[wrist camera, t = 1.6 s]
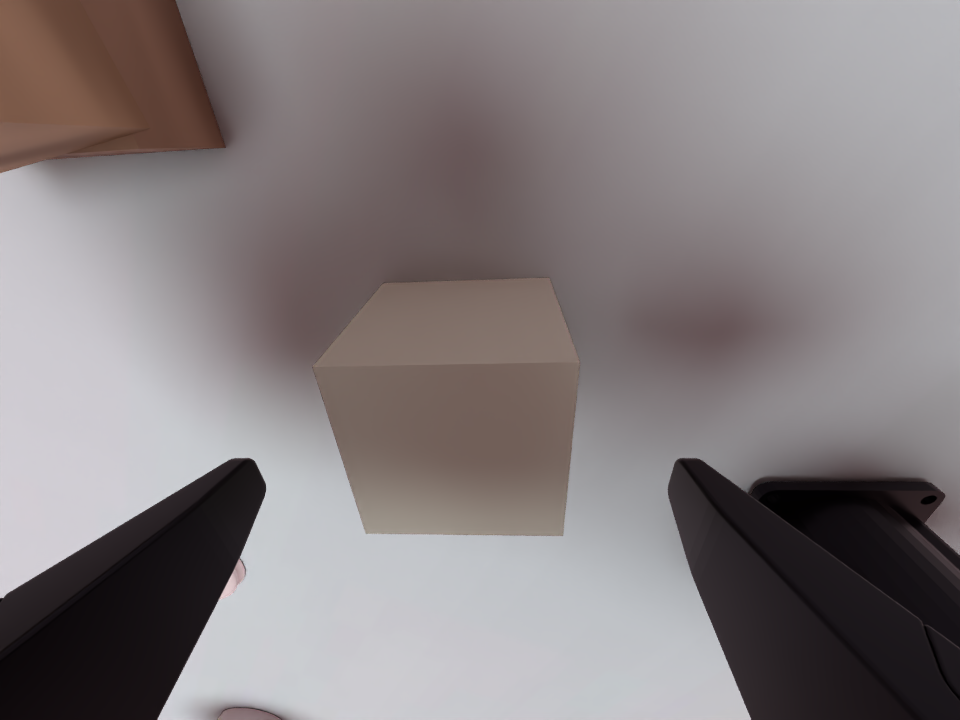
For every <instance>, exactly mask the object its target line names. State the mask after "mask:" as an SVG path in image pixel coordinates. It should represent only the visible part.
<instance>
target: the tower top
mask: <svg viewBox="0 0 960 720" xmlns="http://www.w3.org/2000/svg"><path fill="white" fill-rule="evenodd" d="M147 129H151V128H150V126H149V124H148V123H147V121H146V119H145V117H144V115H143V114H142V112H141V110H140V108H139V106H138V105H137V103H136V101H135V99H134V97H133V96H132V94H131V92H130V90H129V88H128V87H127V85H126V83H125V81H124V79H123V78H122V76H121V74H120V72H119V70H118V69H117V67H116V65H115V63H114V61H113V60H112V58H111V56H110V54H109V52H108V51H107V49H106V47H105V45H104V43H103V42H102V40H101V38H100V36H99V34H98V33H97V31H96V29H95V27H94V25H93V24H92V22H91V20H90V18H89V16H88V15H87V13H86V11H85V9H84V7H83V6H82V4H81V2H80V0H0V173H2V172H6V171H9V170H12V169H16V168H19V167H23V166H26V165H29V164H33V163H36V162H39V161H43V160H46V159H50V158H53V157H56V156H60V155H63V154H66V153H70V152H73V151H77V150H80V149H83V148H87V147H90V146H93V145H97V144H100V143H104V142H107V141H110V140H114V139H117V138H120V137H124V136H127V135H131V134H134V133H137V132H141V131H144V130H147Z"/></svg>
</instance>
